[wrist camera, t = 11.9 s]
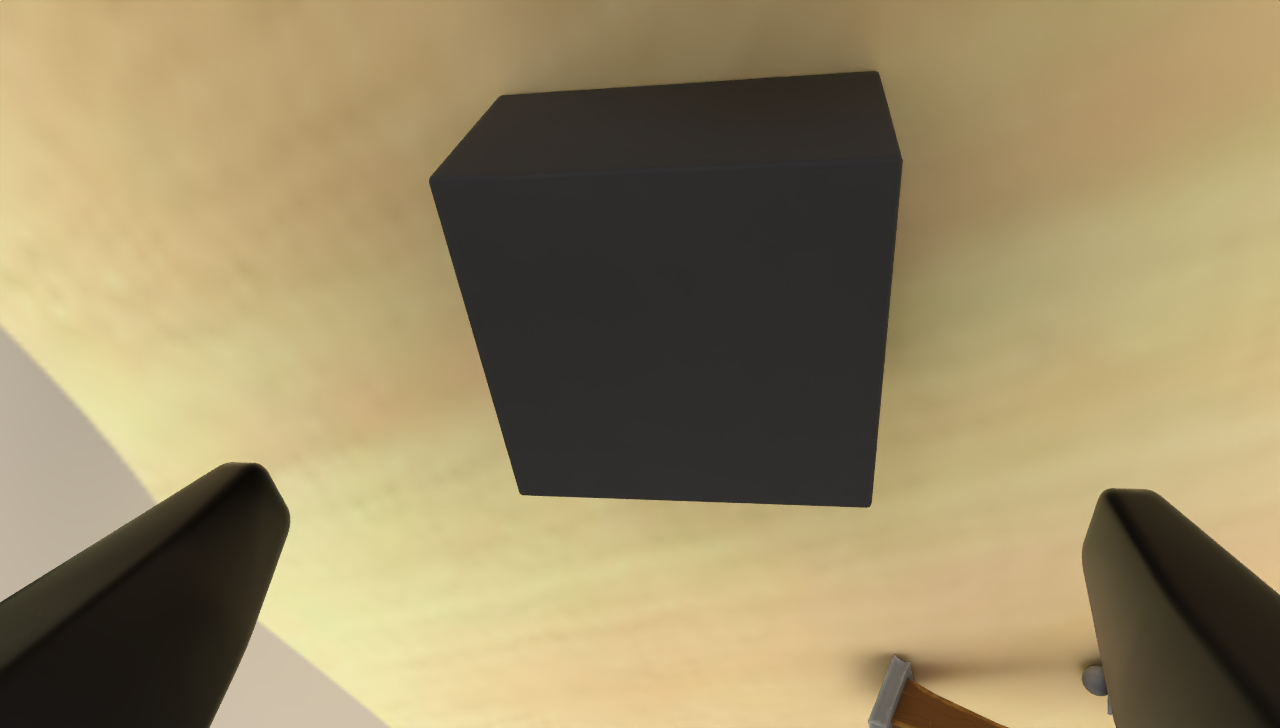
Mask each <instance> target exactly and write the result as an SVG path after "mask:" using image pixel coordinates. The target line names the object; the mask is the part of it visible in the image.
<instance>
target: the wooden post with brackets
mask: <svg viewBox="0 0 1280 728" xmlns="http://www.w3.org/2000/svg"><path fill="white" fill-rule="evenodd" d="M1082 682H1083V685H1084V686H1085V688H1086V689H1087V690H1088V691H1089V692H1090V693H1092V694H1094V695H1097V696H1105V695H1108V692H1107V687H1106V682H1105V677H1104V672H1103V667H1101V666H1090V667H1088V668H1086V669H1085V670H1084V672H1083V674H1082ZM1108 714H1109V715H1112V710H1111V705H1110V701H1109V696H1108ZM868 723H869V727H870V728H1008V727H1006V726H1003V725H1000V724H998V723H995V722H993V721H991V720H989V719H987V718H985V717H983V716H981V715H978V714H976V713H974V712H972V711H970V710H968V709H966V708H964V707H961V706H959V705H957V704H955V703H953V702H951V701H949V700H947V699H944V698H942V697H940V696H938V695H936V694H934V693H932V692H931V691H929V690H927V689H926V688H924V687H922V686H920V685H919V684H917V683H915V682H914V679H913V675H912V670H911V666H910V662H904V661H902V660H900V659H898V658H897V657H896V656H895V654H894V656H893V659H892V662H891V664H890V667H889V669H888V672H887V674H886V677H885V679H884V682H883V684H882V687H881V689H880V692H879V694H878V697H877V700H876V702H875V705H874V707H873V710H872V712H871V715H870V717H869V720H868Z"/></svg>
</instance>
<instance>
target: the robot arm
mask: <svg viewBox="0 0 1280 728" xmlns="http://www.w3.org/2000/svg"><path fill="white" fill-rule="evenodd" d="M289 528H290V513H289V510H288V507H287V505H286V504H285V502H284V500H283V498H282V496H281V495H280V493H279V491H278V489H277V487H276V485H275V484H274V482H273V480H272V478H271V476H270V475H269V473H268V471H267V470H266V469H265V468H264V467H263V466H262V465H260V464H257V463H237V462H231V463H225V464H222V465H220V466H219V467H217V468H215V469H214V470H212V471H211V472H209V473H207V474H206V475H204V476H203V477H201V478H199V479H198V480H196V481H194V482H193V483H191V484H190V485H188V486H186V487H185V488H183V489H182V490H180V491H178V492H177V493H175V494H174V495H172V496H170V497H169V498H167V499H166V500H164V501H162V502H161V503H159V504H158V505H156V506H154V507H153V508H151V509H149V510H148V511H146V512H145V513H143V514H141V515H140V516H138V517H137V518H135V519H134V520H132V521H130V522H129V523H127V524H125V525H124V526H122V527H121V528H119V529H118V530H116V531H114V532H113V533H111V534H109V535H108V536H106V537H105V538H103V539H101V540H100V541H98V542H97V543H95V544H93V545H92V546H90V547H88V548H87V549H85V550H84V551H82V552H81V553H79V554H77V555H76V556H74V557H72V558H71V559H69V560H68V561H66V562H64V563H63V564H61V565H60V566H58V567H56V568H55V569H53V570H52V571H50V572H48V573H47V574H45V575H43V576H42V577H40V578H39V579H37V580H35V581H34V582H33V583H31V584H29V585H27V586H26V587H24V588H23V589H21V590H19V591H18V592H16V593H15V594H13V595H11V596H10V597H8V598H7V599H5V600H4V601H2V602H0V728H210V725H211V723H212V721H213V719H214V717H215V715H216V713H217V711H218V709H219V706H220V704H221V702H222V700H223V698H224V696H225V694H226V691H227V689H228V687H229V685H230V683H231V681H232V679H233V677H234V674H235V672H236V670H237V668H238V666H239V664H240V661H241V659H242V657H243V655H244V652H245V650H246V648H247V645H248V642H249V640H250V637H251V635H252V632H253V630H254V627H255V624H256V621H257V619H258V616H259V613H260V610H261V607H262V605H263V602H264V599H265V596H266V593H267V591H268V588H269V585H270V582H271V579H272V577H273V574H274V571H275V568H276V566H277V563H278V560H279V557H280V554H281V552H282V549H283V546H284V543H285V540H286V538H287V535H288V532H289ZM1082 565H1083V571H1084V576H1085V581H1086V586H1087V591H1088V596H1089V601H1090V606H1091V611H1092V616H1093V621H1094V626H1095V632H1096V637H1097V642H1098V647H1099V652H1100V657H1101V662H1102V667H1103V672H1104V677H1105V682H1106V687H1107V692H1108V696H1109V701H1110V705H1111V710H1112V714H1113V718H1114V722H1115V725H1116V728H1280V595H1279V594H1278V593H1277V592H1276V591H1274V590H1273V589H1272V588H1271V587H1270V586H1268V585H1267V584H1266V583H1265V582H1264V581H1262V580H1261V579H1260V578H1259V577H1258V576H1256V575H1255V574H1254V573H1253V572H1252V571H1250V570H1249V569H1248V568H1247V567H1246V566H1244V565H1243V564H1242V563H1241V562H1240V561H1238V560H1237V559H1236V558H1235V557H1234V556H1232V555H1231V554H1230V553H1229V552H1228V551H1226V550H1225V549H1224V548H1223V547H1222V546H1220V545H1219V544H1218V543H1217V542H1216V541H1214V540H1213V539H1212V538H1211V537H1210V536H1208V535H1207V534H1206V533H1205V532H1204V531H1202V530H1201V529H1200V528H1199V527H1198V526H1196V525H1195V524H1194V523H1193V522H1192V521H1190V520H1189V519H1188V518H1187V517H1186V516H1184V515H1183V514H1182V513H1181V512H1180V511H1178V510H1177V509H1176V508H1175V507H1173V506H1172V505H1171V504H1170V503H1169V502H1167V501H1166V500H1165V499H1164V498H1163V497H1161V496H1160V495H1159V494H1157V493H1155V492H1153V491H1151V490H1146V489H1117V488H1111V489H1107V490H1105V491H1103V493H1102V494H1101V495H1100V497H1099V499H1098V501H1097V504H1096V507H1095V510H1094V513H1093V516H1092V519H1091V522H1090V525H1089V528H1088V531H1087V534H1086V537H1085V540H1084V543H1083V548H1082Z"/></svg>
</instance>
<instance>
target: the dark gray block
mask: <svg viewBox="0 0 1280 728" xmlns="http://www.w3.org/2000/svg"><path fill="white" fill-rule="evenodd" d="M902 163H903V160H902V156H901V153H900V149H899V145H898V141H897V138H896V134H895V130H894V127H893V123H892V119H891V115H890V112H889V108H888V104H887V101H886V97H885V93H884V89H883V86H882V82H881V78H880V75H879V72H876V71H872V72H857V73H841V74H826V75H811V76H795V77H780V78H764V79H749V80H734V81H718V82H703V83H688V84H672V85H657V86H642V87H626V88H611V89H596V90H580V91H565V92H550V93H534V94H519V95H503V96H500V97H499V98H498V99H497V100H496V101H495V102H494V103H493V105H492V106H491V107H490V108H489V109H488V110H487V112H486V113H485V114H484V115H483V116H482V117H481V119H480V120H479V121H478V122H477V123H476V124H475V126H474V127H473V128H472V129H471V130H470V131H469V133H468V134H467V135H466V136H465V137H464V138H463V140H462V141H461V142H460V143H459V144H458V145H457V147H456V148H455V149H454V150H453V151H452V152H451V154H450V155H449V156H448V157H447V158H446V159H445V161H444V162H443V163H442V164H441V165H440V166H439V168H438V169H437V170H436V171H435V172H434V173H433V175H432V176H431V177H430V179H429V184H430V187H431V191H432V194H433V197H434V201H435V204H436V208H437V211H438V215H439V218H440V221H441V225H442V228H443V232H444V235H445V239H446V242H447V245H448V249H449V252H450V256H451V259H452V263H453V266H454V269H455V273H456V276H457V280H458V283H459V287H460V290H461V294H462V297H463V300H464V304H465V307H466V311H467V314H468V318H469V321H470V324H471V328H472V331H473V335H474V338H475V342H476V345H477V348H478V352H479V355H480V359H481V362H482V366H483V369H484V372H485V376H486V379H487V383H488V386H489V390H490V393H491V396H492V400H493V403H494V407H495V410H496V414H497V417H498V420H499V424H500V427H501V431H502V434H503V438H504V441H505V445H506V448H507V451H508V455H509V458H510V462H511V465H512V469H513V472H514V475H515V479H516V482H517V486H518V489H519V493H520V494H521V495H531V496H559V497H587V498H615V499H643V500H671V501H699V502H727V503H755V504H783V505H811V506H839V507H870V505H871V503H872V493H873V482H874V471H875V460H876V449H877V438H878V427H879V416H880V405H881V394H882V383H883V372H884V361H885V350H886V339H887V328H888V317H889V306H890V295H891V284H892V273H893V262H894V251H895V240H896V229H897V218H898V207H899V196H900V185H901V174H902Z"/></svg>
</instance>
